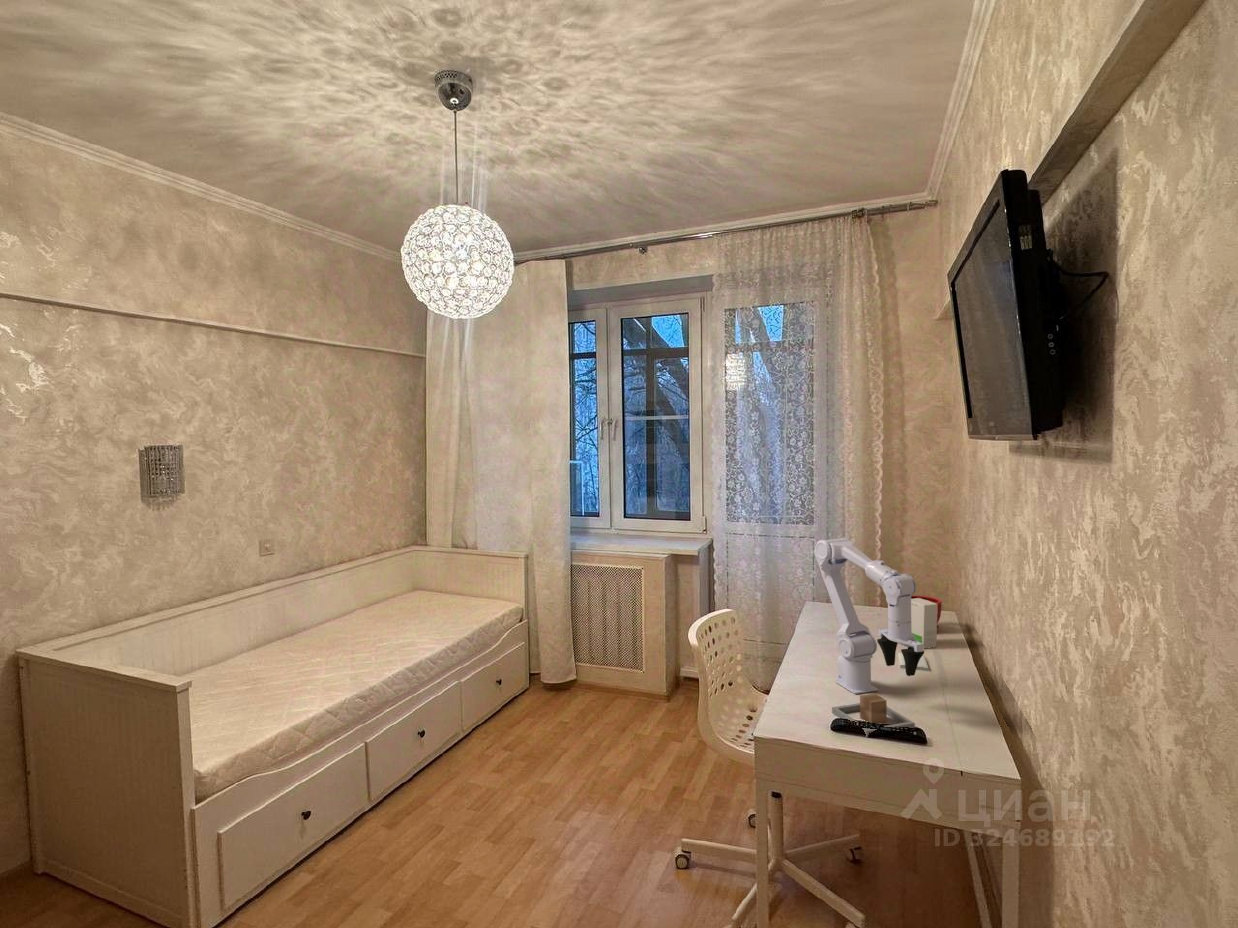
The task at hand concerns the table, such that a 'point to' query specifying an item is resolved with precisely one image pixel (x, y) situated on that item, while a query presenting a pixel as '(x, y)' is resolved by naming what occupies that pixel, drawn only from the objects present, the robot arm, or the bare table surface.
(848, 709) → the tray frame
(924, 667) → the hard drive
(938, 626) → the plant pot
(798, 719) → the table surface
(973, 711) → the table surface
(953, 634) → the table surface
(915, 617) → the skincare box
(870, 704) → the walnut block
